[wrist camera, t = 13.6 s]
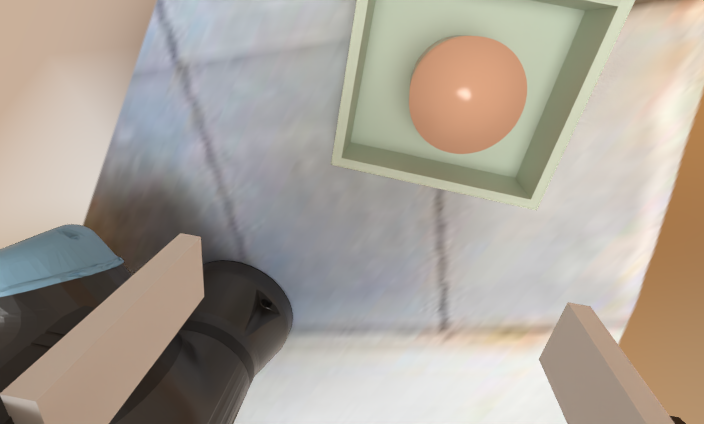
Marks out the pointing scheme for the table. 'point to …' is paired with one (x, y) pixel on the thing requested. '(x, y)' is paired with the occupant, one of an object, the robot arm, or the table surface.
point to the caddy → (485, 21)
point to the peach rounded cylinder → (466, 93)
